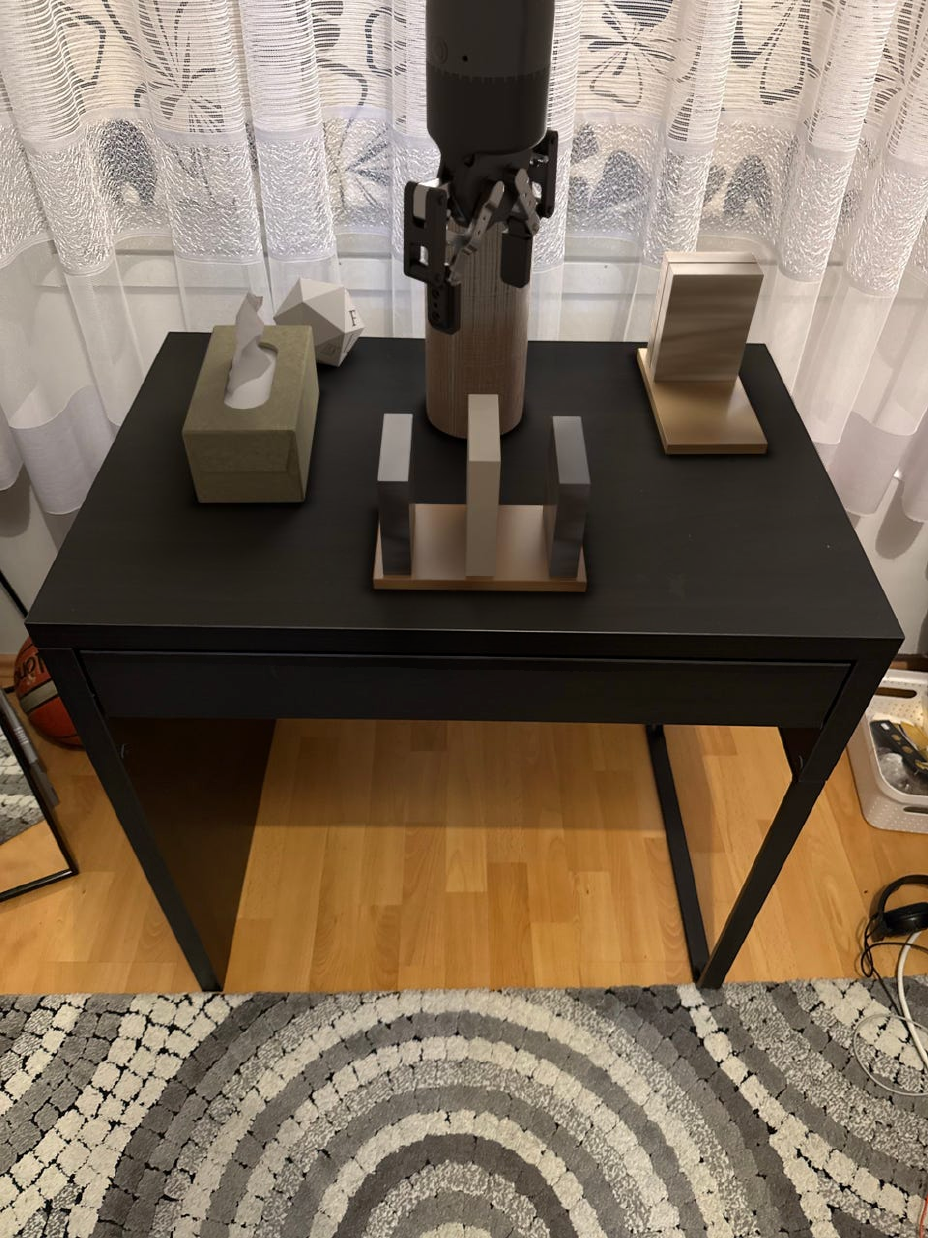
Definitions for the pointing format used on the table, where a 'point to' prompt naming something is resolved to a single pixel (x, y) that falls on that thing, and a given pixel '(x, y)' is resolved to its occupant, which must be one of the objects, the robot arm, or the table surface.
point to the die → (323, 317)
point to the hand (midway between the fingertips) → (481, 305)
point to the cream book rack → (703, 353)
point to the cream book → (482, 484)
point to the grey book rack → (526, 534)
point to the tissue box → (253, 411)
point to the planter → (479, 341)
